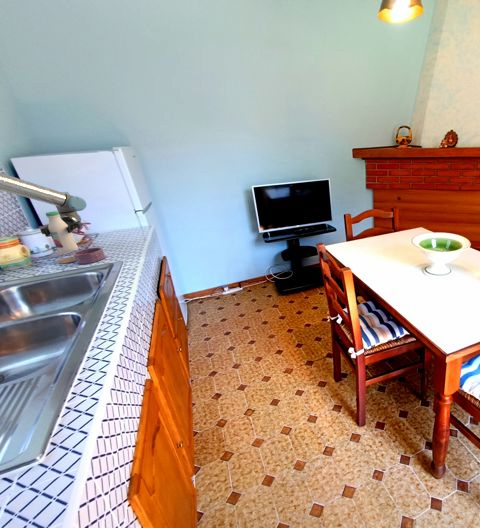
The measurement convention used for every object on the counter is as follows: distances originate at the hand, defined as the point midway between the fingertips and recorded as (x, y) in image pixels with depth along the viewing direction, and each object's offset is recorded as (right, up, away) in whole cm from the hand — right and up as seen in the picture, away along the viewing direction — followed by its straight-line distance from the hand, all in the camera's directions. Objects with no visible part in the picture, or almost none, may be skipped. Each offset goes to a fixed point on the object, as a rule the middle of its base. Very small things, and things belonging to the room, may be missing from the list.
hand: (57, 231), depth 145 cm
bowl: (+10, -14, +8) cm, 19 cm away
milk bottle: (-2, -9, +8) cm, 12 cm away
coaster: (-2, -14, +10) cm, 17 cm away
